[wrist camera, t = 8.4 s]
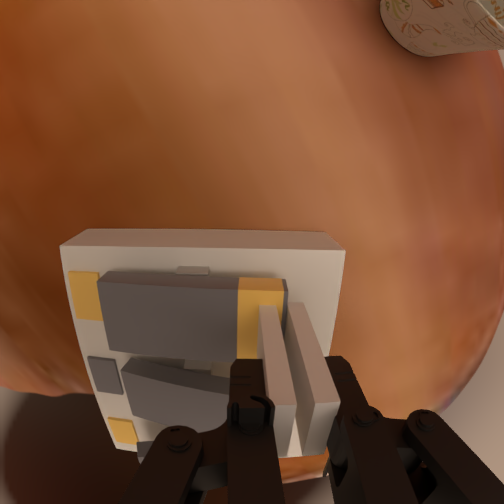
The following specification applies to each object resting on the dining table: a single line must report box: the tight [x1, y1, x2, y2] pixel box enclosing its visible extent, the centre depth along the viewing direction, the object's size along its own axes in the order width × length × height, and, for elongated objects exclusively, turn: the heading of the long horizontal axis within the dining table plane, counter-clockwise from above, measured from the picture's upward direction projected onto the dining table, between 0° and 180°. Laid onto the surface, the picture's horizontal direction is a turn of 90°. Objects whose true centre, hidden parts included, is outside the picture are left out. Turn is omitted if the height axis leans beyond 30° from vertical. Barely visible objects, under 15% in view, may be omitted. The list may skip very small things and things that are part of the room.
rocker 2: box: [120, 358, 230, 433], centre depth 17 cm, size 9×4×1 cm, turn 88°
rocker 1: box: [96, 271, 289, 362], centre depth 15 cm, size 9×4×1 cm, turn 88°
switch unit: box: [60, 229, 346, 458], centre depth 20 cm, size 16×18×5 cm
